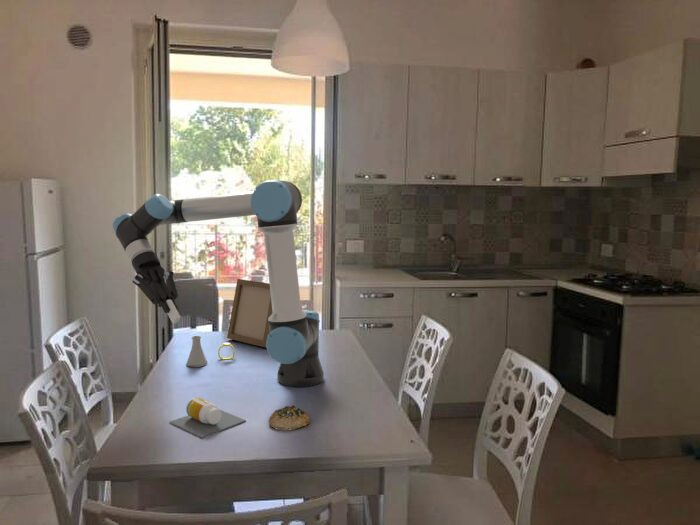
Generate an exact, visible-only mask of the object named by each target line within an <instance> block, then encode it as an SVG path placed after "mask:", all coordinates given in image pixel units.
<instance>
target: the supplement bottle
mask: <svg viewBox="0 0 700 525" xmlns="http://www.w3.org/2000/svg"><path fill="white" fill-rule="evenodd" d="M218 409H219V408H218V407H217V405H216V404H214V403H212V402H210V401H209V400H208V401H207V400H206V399H204V398H201V397H198V396H195V397H192V398H191V399H190V400H188V402H187V404H186V406H185V411H186V414H187V416H188V415H189V416H190V417H192V418H194V419H196V420H198V421H200V422H202V423H204V424H209V423H210V424H216V423H218V422H219V420H220V419H221V411H220V410H221V409H220V410H218Z"/></svg>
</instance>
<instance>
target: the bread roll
mask: <svg viewBox="0 0 700 525" xmlns="http://www.w3.org/2000/svg"><path fill="white" fill-rule="evenodd" d="M268 423H269V426H270V427H271V428H272V427H273V428H272V429H274V428H277V429H281V430H280V431H290V430H289V429H296V430H298V429H297V428H299V429H301V428H304V427H303V426H305V427H307V426H308V425H309V424H310V423H311V420H310V418H309V415H308V414H307V412H306V411H304V410H303V409H300V408H299V406H296V405H294V404H293V405H290V406H288V405H286V406H285V407H282V408H279V409H276V410H275V411H274V412H273V413H272V414H271V416H269V419H268ZM307 424H308V425H307ZM306 425H307V426H306ZM300 427H301V428H300ZM277 429H276V430H277Z"/></svg>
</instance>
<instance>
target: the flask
mask: <svg viewBox="0 0 700 525" xmlns="http://www.w3.org/2000/svg"><path fill="white" fill-rule="evenodd" d="M201 338H202V336H201V335H193V336H191V340H192V344H191V350H190V352H189V355H188V358H187V361H186V364H185V366H187V367H192V368H197V367H200V368H201V367H203V366H206V365H207V364H208V360H207V358H206V355H205V352H204V350H203V348H202V344H201Z"/></svg>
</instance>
